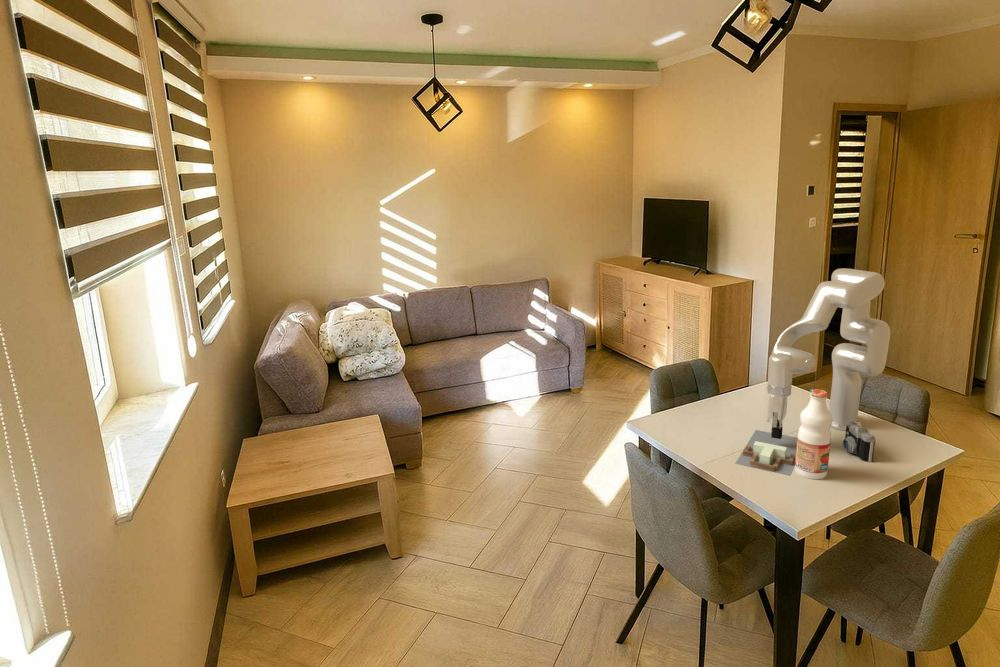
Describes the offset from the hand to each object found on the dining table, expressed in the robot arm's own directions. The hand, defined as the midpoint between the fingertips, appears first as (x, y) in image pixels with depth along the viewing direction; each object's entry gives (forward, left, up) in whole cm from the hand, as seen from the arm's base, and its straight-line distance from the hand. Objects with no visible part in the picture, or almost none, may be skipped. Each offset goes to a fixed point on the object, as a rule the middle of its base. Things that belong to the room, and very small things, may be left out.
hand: (776, 437), depth 214 cm
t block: (+13, 0, -3) cm, 14 cm away
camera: (-8, +23, -4) cm, 25 cm away
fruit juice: (+15, +13, -4) cm, 20 cm away
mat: (+5, 0, -4) cm, 6 cm away
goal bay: (+13, 0, -3) cm, 14 cm away
